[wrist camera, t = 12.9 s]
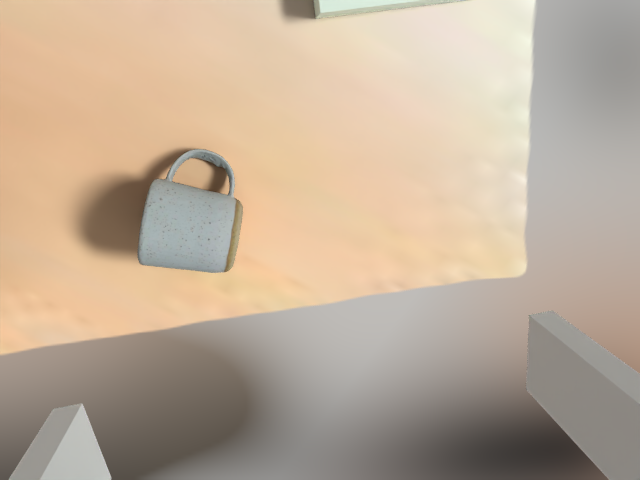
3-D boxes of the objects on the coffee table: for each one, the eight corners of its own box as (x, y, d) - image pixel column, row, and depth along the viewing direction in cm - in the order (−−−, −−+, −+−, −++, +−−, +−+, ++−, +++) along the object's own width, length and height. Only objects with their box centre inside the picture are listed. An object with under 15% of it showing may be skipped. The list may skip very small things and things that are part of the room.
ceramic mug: (233, 259, 44) (230, 290, 37) (150, 247, 43) (129, 277, 35) (251, 157, 42) (251, 169, 34) (162, 139, 40) (143, 148, 33)
